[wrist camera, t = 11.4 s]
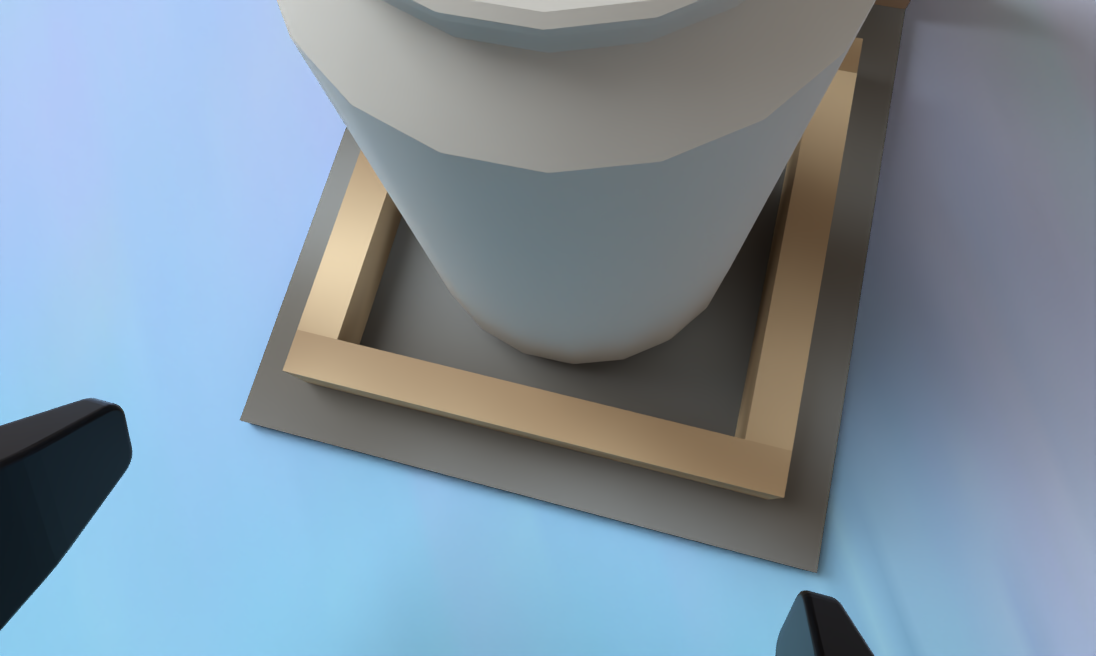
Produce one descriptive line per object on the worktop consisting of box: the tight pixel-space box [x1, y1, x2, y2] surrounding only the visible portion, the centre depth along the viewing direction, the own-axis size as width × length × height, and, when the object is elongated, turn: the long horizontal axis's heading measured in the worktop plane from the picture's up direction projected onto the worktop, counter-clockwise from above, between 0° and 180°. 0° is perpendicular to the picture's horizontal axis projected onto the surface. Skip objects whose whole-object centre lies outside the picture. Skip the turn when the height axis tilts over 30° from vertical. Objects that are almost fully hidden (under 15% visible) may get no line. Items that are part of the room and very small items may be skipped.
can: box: [277, 0, 876, 364], centre depth 12 cm, size 8×8×12 cm
